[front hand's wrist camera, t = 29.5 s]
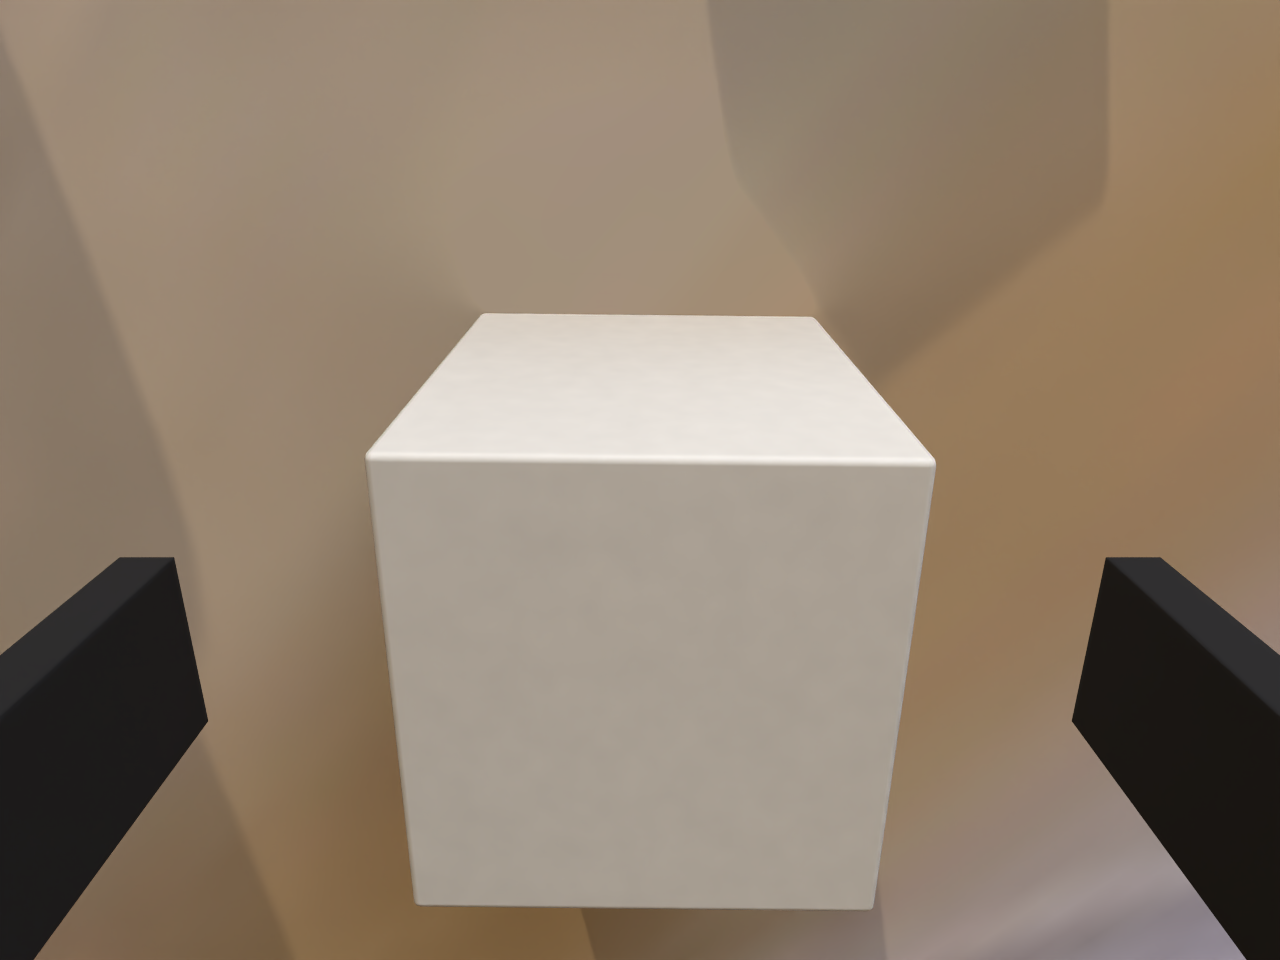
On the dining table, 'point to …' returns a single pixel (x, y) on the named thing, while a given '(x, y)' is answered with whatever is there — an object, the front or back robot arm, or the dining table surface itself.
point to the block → (647, 613)
